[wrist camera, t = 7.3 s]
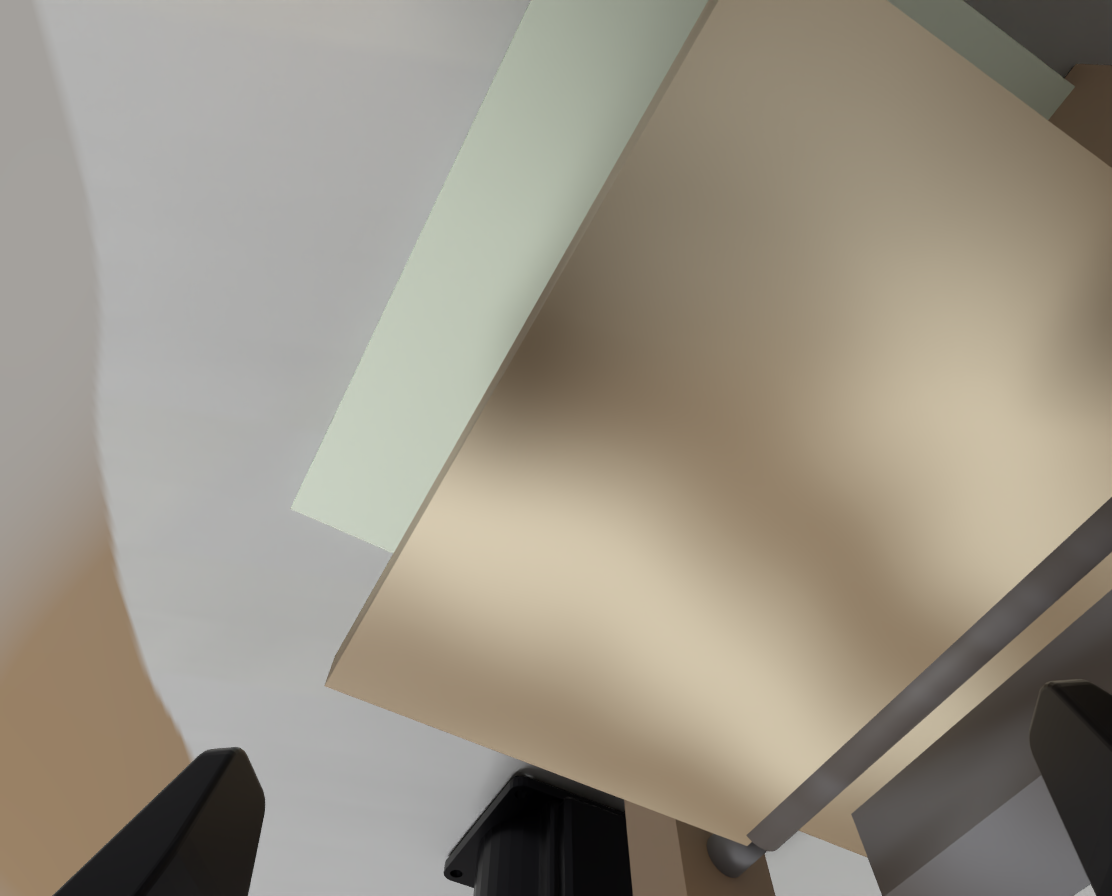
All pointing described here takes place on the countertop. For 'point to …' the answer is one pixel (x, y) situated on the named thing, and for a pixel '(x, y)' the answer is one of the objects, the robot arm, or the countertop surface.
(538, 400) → the trapdoor
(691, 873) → the stand
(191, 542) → the countertop surface
